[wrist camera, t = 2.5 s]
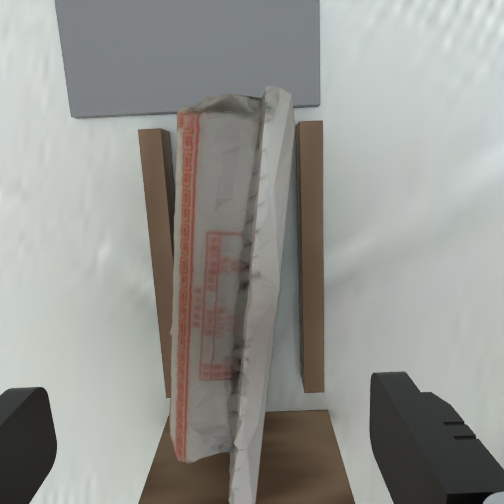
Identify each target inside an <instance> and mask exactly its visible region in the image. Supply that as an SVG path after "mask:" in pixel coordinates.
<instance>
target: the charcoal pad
mask: <svg viewBox="0 0 504 504" xmlns="http://www.w3.org/2000/svg"><path fill="white" fill-rule="evenodd" d="M55 7H56V14H57V21H58V28H59V35H60V42H61V49H62V56H63V63H64V70H65V78H66V85H67V92H68V99H69V106H70V113H71V117H74V118H95V117H115V116H136V115H156V114H176V113H177V112H178V111H179V110H180V109H181V107H189V106H194V105H196V104H198V103H199V102H201V101H202V100H203V99H204V98H205V97H214V98H216V97H217V96H219V95H221V94H237V95H244V96H251V97H258V98H262V96H263V95H264V92H265V90H266V86H277V87H279V88H281V89H283V90H285V91H287V92H289V93H291V94H292V104H293V108H297V107H317V106H319V105H320V12H319V0H55Z"/></svg>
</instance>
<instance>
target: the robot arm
mask: <svg viewBox="0 0 504 504" xmlns="http://www.w3.org/2000/svg"><path fill="white" fill-rule="evenodd" d="M370 440H371V446H372V450H373V454H374V457H375V459H376V462H377V464H378V466H379V469H380V471H381V474H382V476H383V478H384V481H385V483H386V486H387V488H388V490H389V493H390V495H391V498H392V500H393V502H394V504H504V469H503V468H502V467H501V466H500V465H499V463H498V462H497V461H496V460H495V458H494V457H493V456H492V455H491V454H490V452H489V451H488V450H487V449H486V447H485V446H484V445H483V444H482V443H481V441H480V440H479V439H476V435H475V434H474V433H473V432H472V430H471V429H470V428H469V427H468V425H465V424H464V421H463V419H462V418H461V417H460V416H459V414H458V413H457V412H456V411H455V410H454V408H453V407H452V406H451V405H450V404H448V403H447V402H445V401H444V400H442V399H441V398H439V397H438V396H436V395H435V394H433V393H432V392H420V391H419V389H418V388H417V387H416V385H415V384H414V383H413V381H412V380H411V378H410V377H409V376H408V374H407V373H406V372H382V373H373V374H372V376H371V386H370ZM56 452H57V440H56V434H55V429H54V424H53V418H52V413H51V408H50V402H49V397H48V394H47V391H46V390H45V389H44V388H43V387H29V388H11V389H8V390H6V391H5V392H4V393H3V394H1V395H0V504H29V503H30V501H31V500H32V498H33V497H34V495H35V494H36V492H37V491H38V489H39V488H40V486H41V484H42V483H43V481H44V480H45V478H46V477H47V475H48V474H49V472H50V470H51V469H52V466H53V464H54V461H55V458H56Z"/></svg>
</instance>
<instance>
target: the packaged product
mask: <svg viewBox="0 0 504 504" xmlns="http://www.w3.org/2000/svg"><path fill="white" fill-rule="evenodd" d="M294 131H295V123H294V113H293V104H292V94H291V93H289V92H287V91H285V90H283V89H281V88H279V87H277V86H266V90H265V92H264V95H263V96H262V98H258V97H251V96H244V95H237V94H221V95H219V96H217V97H216V98H214V97H205V98H204V99H203V100H202V101H201V102H199V103H198V104H196V105H194V106H189V107H181V109H180V110H179V111H178V112H177V145H176V174H175V180H176V188H175V215H174V269H173V290H174V292H173V306H172V328H171V331H170V334H171V335H172V350H171V401H170V413H169V414H170V437H171V440H172V442H173V448H174V451H175V454H176V456H177V459H178V461H181V462H183V463H192V462H195V461H197V460H198V459H201V458H204V457H208V456H211V455H214V454H217V453H222V452H229V453H230V466H229V472H230V482H229V500H228V501H229V502H230V503H229V504H255V502H256V493H257V483H258V474H259V464H260V454H261V445H262V435H263V426H264V417H265V409H266V400H267V391H268V383H269V374H270V365H271V357H272V348H273V339H274V331H275V322H276V313H277V305H278V298H279V293H280V275H281V265H282V254H283V244H284V234H285V224H286V213H287V203H288V193H289V183H290V172H291V162H292V152H293V142H294Z"/></svg>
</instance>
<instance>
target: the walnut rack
mask: <svg viewBox="0 0 504 504" xmlns="http://www.w3.org/2000/svg"><path fill="white" fill-rule="evenodd" d="M138 134H139V144H140V153H141V163H142V172H143V182H144V191H145V200H146V210H147V219H148V229H149V238H150V248H151V257H152V267H153V276H154V286H155V295H156V305H157V314H158V323H159V333H160V342H161V352H162V361H163V371H164V380H165V390H166V398H171V350H172V335H171V334H170V331H171V328H172V306H173V292H174V290H173V269H174V215H175V190H174V178H173V167H172V156H171V144H170V133H169V132H168V131H166V130H163V129H140V130H138ZM296 165H297V214H298V264H299V313H300V362H301V378H302V382H303V387H304V392H305V393H318V392H324V260H323V121H303V122H299V123H298V124H297V125H296ZM229 466H230V453H229V452H222V453H217V454H214V455H211V456H208V457H204V458H201V459H198V460H197V461H195V462H192V463H183V462H181V461H178V459H177V456H176V454H175V451H174V448H173V442H172V440H171V437H170V416H168V419H167V422H166V425H165V428H164V431H163V434H162V436H161V439H160V442H159V445H158V448H157V451H156V454H155V457H154V460H153V463H152V465H151V468H150V471H149V474H148V477H147V480H146V483H145V486H144V489H143V492H142V494H141V497H140V500H139V503H138V504H229V503H230V502H229V501H228V500H229V482H230V472H229ZM255 504H355V501H354V498H353V495H352V491H351V488H350V484H349V481H348V478H347V474H346V471H345V467H344V464H343V461H342V457H341V454H340V450H339V447H338V443H337V440H336V437H335V433H334V430H333V426H332V423H331V420H330V416H329V413H328V410H316V411H288V412H265V417H264V426H263V435H262V445H261V454H260V464H259V474H258V483H257V493H256V502H255Z"/></svg>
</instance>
